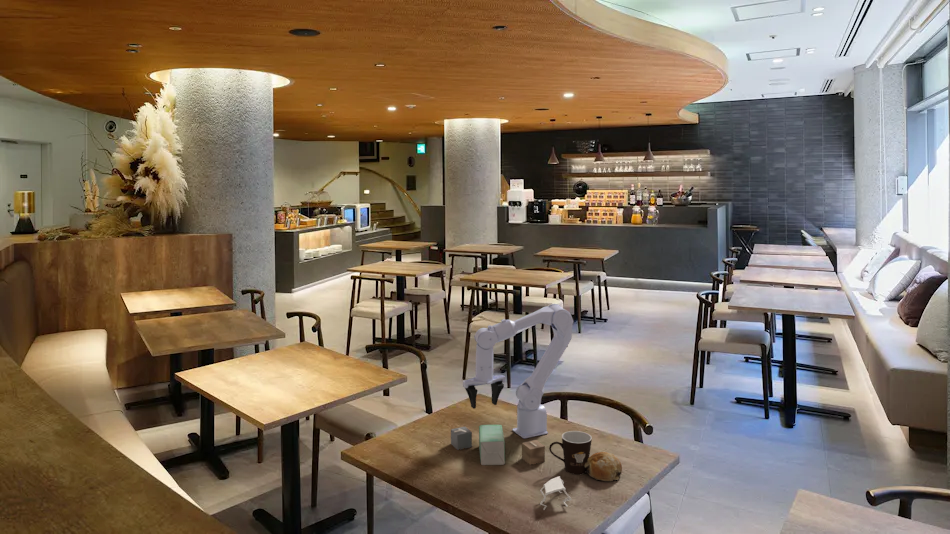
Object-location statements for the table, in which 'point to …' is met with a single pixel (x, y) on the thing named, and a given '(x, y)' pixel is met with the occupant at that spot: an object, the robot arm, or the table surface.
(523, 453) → the brown cardboard cube
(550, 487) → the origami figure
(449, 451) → the table surface
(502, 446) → the box
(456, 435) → the charcoal cube
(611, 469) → the bread roll
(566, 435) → the coffee mug
